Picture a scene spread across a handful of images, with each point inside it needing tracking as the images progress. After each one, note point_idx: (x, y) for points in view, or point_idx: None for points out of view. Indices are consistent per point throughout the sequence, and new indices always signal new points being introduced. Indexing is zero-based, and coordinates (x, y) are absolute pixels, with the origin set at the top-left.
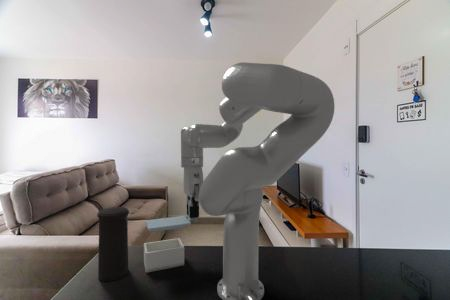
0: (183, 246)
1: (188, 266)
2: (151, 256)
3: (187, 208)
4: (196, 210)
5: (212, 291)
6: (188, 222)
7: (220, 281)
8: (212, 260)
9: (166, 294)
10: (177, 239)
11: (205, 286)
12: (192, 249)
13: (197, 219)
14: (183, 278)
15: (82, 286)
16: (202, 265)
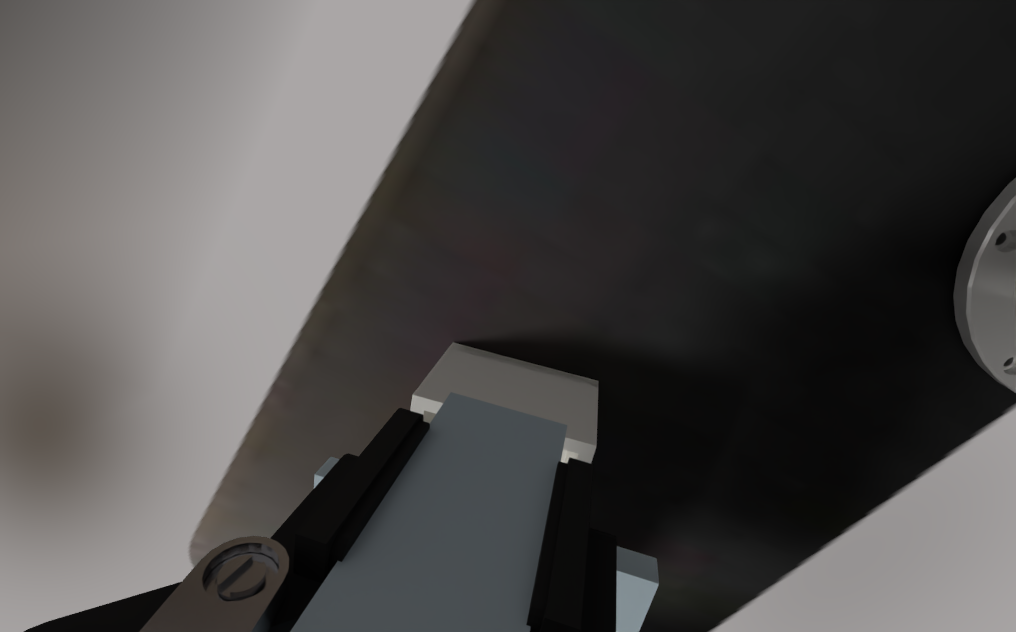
0: (582, 445)
1: (627, 368)
2: None
3: None
4: (609, 609)
5: (969, 399)
6: (619, 590)
7: (987, 344)
8: (662, 199)
9: (793, 562)
10: (424, 411)
11: (894, 402)
12: (425, 233)
13: (563, 439)
14: (727, 449)
15: None
16: (675, 294)
